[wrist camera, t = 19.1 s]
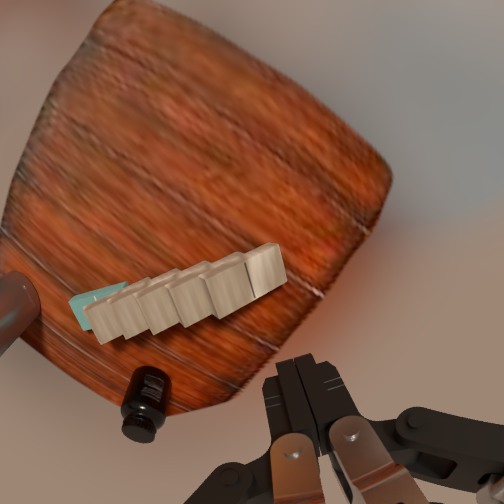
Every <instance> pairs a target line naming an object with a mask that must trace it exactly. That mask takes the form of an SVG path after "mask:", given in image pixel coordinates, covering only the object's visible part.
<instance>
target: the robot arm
mask: <svg viewBox="0 0 504 504" xmlns="http://www.w3.org/2000/svg"><path fill="white" fill-rule="evenodd" d="M39 313H40V301H39V297H38V294H37V292H36V290H35V288H34V286H33V285H32V283H31V282H30V281H29V279H28V278H27V277H26V276H24V275H23V274H21V273H20V272H17V271H11V272H9V273H7V274H6V275H4V276H3V277H2V278H0V357H1V356H2V354H3V353H4V352H5V351H6V350H7V349H8V348H9V347H10V345H11V344H12V343H13V342H14V341H15V340H16V339H17V338H18V337H19V336H20V335H21V334H22V333H23V331H24V330H25V329H26V328H27V327H28V326H29V325H30V324H31V323H32V322H33V321H34V320H35V319H36V318H37V317H38V315H39ZM294 363H295V364H294ZM276 368H277V372H278V375H277V376H273V377H269V378H266V379H265V382H264V384H263V387H262V391H263V396H264V401H265V406H266V412H267V418H268V423H269V428H270V434H271V445H270V447H269V449H268V451H267V452H266V453H265V454H264V455H263V456H261V457H260V458H258V459H256V460H254V461H252V462H250V463H248V464H246V465H244V464H241V463H237V462H230V463H225V464H222V465H220V466H218V467H217V468H216V469H215V470H214V471H213V472H212V473H211V474H210V475H209V476H208V478H207V479H206V480H205V481H204V482H203V483H202V484H201V485H200V487H199V488H198V489H197V490H196V491H195V492H194V493H193V494H192V495H191V496H190V497H189V498H188V500H187V501H186V502H185V503H184V504H325V499H324V494H323V490H322V485H321V480H320V468H319V463H318V457H320V450H321V453H322V456H323V455H326V454H328V455H329V457H330V460H331V463H332V470H333V472H334V475H335V477H336V479H337V481H338V483H339V486H340V488H341V490H342V492H343V494H344V496H345V498H346V501H347V502H348V504H443V503H436V502H428V500H427V499H426V497H425V496H424V494H423V493H422V491H421V490H420V488H419V487H418V485H417V484H416V482H415V481H414V479H413V478H417V479H420V480H423V481H427V482H430V483H434V484H437V485H441V486H445V487H449V488H454V489H458V490H462V491H467V492H472V493H477V494H476V500H477V503H478V504H504V425H499V424H494V423H488V422H483V421H478V420H473V419H468V418H464V417H459V416H455V415H450V414H446V413H442V412H439V411H434V410H431V409H427V408H423V407H412V408H409V409H406V410H404V411H403V412H402V413H401V414H400V415H399V416H398V418H397V419H392V420H385V421H372V420H369V419H366V418H364V417H363V416H362V415H361V414H360V413H359V412H358V410H357V408H356V406H355V404H354V402H353V400H352V398H351V396H350V394H349V392H348V390H347V388H346V387H345V385H344V382H343V381H342V379H341V377H340V375H339V373H338V371H337V369H336V367H335V366H333V365H332V364H330V363H329V362H328V361H325V362H322V363H318V364H316V363H315V360H314V358H313V356H312V354H311V353H309V354H306V355H302V356H299V357H295V358H294V361H293V359H289V360H285V361H281V362H278V363H276ZM319 447H320V450H319Z"/></svg>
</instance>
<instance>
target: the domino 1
mask: <svg viewBox="0 0 504 504" xmlns="http://www.w3.org/2000/svg"><path fill="white" fill-rule="evenodd" d="M127 286H129V285H128V282H127V281H126V282H122V283H119V284H115V285H112V286H108V287H105V288H101V289H97V290H94V291H90V292H87V293H83V294H80V295H76V296H74V297H73V298H72V299H71V300H70V301H69V304H70V306H71V308H72V310H73V312H74V314H75V316H76V318H77V320H78V322H79V323H80V325H81V327H82V329H83V331H85V330H90V329H92V328H91V326H90V325H89V323H88V321H87V319H86V317H85V315H84V313H83V307H84V306H86V305H88V304H91V303H93V302H95V301H97V300H99V299H101V298H103V297H105V296H108V295H110V294H112V293H114V292H116V291H118V290H120V289H123V288H125V287H127Z"/></svg>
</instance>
